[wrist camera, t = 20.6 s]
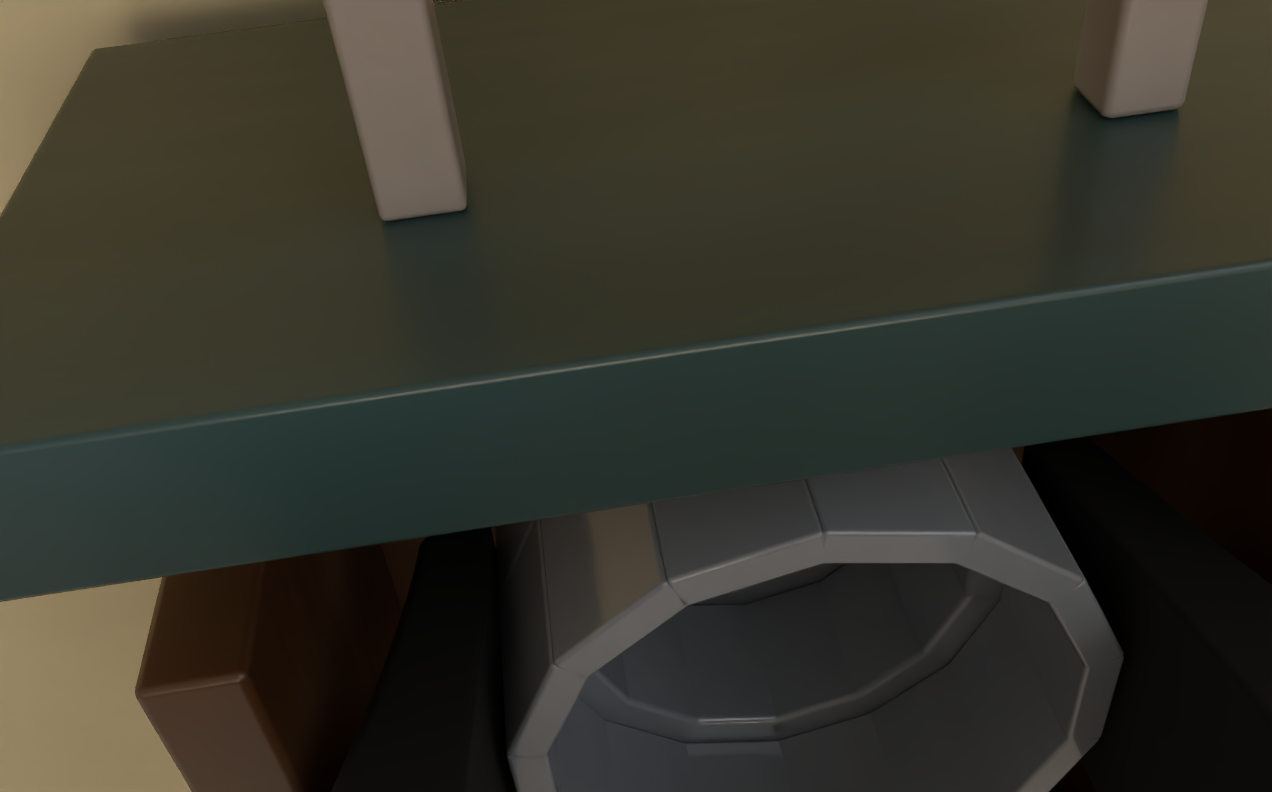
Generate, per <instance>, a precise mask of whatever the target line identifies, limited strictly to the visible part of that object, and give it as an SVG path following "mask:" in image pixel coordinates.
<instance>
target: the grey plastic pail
mask: <svg viewBox="0 0 1272 792" xmlns="http://www.w3.org/2000/svg"><path fill="white" fill-rule="evenodd" d="M495 538H496V551H497V565H498V584H499V611H500V631H501V632H500V645H501V664H502V684H503V703H504V723H505V742H506V757H507V761H508V765H509V768H510V772H511V776H512V779H513V783H514V787H515V790H516V792H1050V791H1051V790H1052V789H1053V788H1054V786H1055V785H1056V784H1057V783H1058V782H1059V781H1060V780H1061V779H1062V778H1063V777H1064V776H1065V775H1066V774H1067V773H1068V772H1069V771H1070V770H1071V769H1072V768H1073V767H1074V766H1075V765H1076V764H1077V763H1078V762H1079V761H1080V760H1081V759H1082V758H1083V757H1084V756H1085V754H1086V753H1087V752H1088V751H1089V750H1090V749H1091V748H1092V747H1093V746H1094V745H1095V744H1096V743H1097V742H1098V741H1099V738H1100V737H1101V736H1102V733H1103V730H1104V727H1105V723H1106V720H1107V716H1108V713H1109V709H1110V706H1111V702H1112V699H1113V695H1114V692H1115V689H1116V685H1117V682H1118V678H1119V675H1120V671H1121V668H1122V664H1123V661H1124V656H1123V654H1124V653H1123V649H1122V647H1121V645H1120V643H1119V641H1118V639H1117V637H1116V635H1115V633H1114V632H1113V630H1112V628H1111V626H1110V624H1109V622H1108V620H1107V618H1106V616H1105V614H1104V612H1103V611H1102V609H1101V607H1100V605H1099V603H1098V601H1097V599H1096V597H1095V595H1094V593H1093V591H1092V590H1091V588H1090V586H1089V584H1088V582H1087V580H1086V578H1085V576H1084V575H1083V573H1082V571H1081V569H1080V568H1079V566H1078V564H1077V562H1076V560H1075V559H1074V557H1073V555H1072V553H1071V552H1070V550H1069V548H1068V546H1067V544H1066V543H1065V541H1064V539H1063V537H1062V536H1061V534H1060V532H1059V530H1058V528H1057V527H1056V525H1055V523H1054V521H1053V520H1052V518H1051V516H1050V514H1049V512H1048V511H1047V509H1046V507H1045V505H1044V503H1043V502H1042V500H1041V498H1040V496H1039V495H1038V493H1037V491H1036V489H1035V487H1034V486H1033V484H1032V482H1031V480H1030V479H1029V477H1028V475H1027V473H1026V471H1025V470H1024V468H1023V466H1022V464H1021V463H1020V461H1019V459H1018V457H1017V455H1016V454H1015V452H1014V450H1013V448H1008V449H1001V450H995V451H988V452H982V453H975V454H968V455H962V456H955V457H949V458H942V459H935V460H929V461H922V462H916V463H909V464H903V465H896V466H889V467H883V468H876V469H870V470H863V471H857V472H850V473H843V474H837V475H830V476H824V477H817V478H811V479H804V480H797V481H791V482H784V483H778V484H771V485H764V486H758V487H751V488H745V489H738V490H732V491H725V492H718V493H712V494H705V495H699V496H692V497H686V498H679V499H672V500H666V501H659V502H653V503H646V504H639V505H633V506H626V507H620V508H613V509H607V510H600V511H593V512H587V513H580V514H574V515H567V516H561V517H554V518H547V519H541V520H534V521H528V522H521V523H515V524H508V525H501V526H495Z"/></svg>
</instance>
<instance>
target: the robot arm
mask: <svg viewBox="0 0 1272 792" xmlns="http://www.w3.org/2000/svg"><path fill="white" fill-rule="evenodd" d="M1022 466H1023V468H1024V470H1025V471H1026V473H1027V475H1028V477H1029V479H1030V480H1031V482H1032V484H1033V486H1034V487H1035V489H1036V491H1037V493H1038V495H1039V496H1040V498H1041V500H1042V502H1043V503H1044V505H1045V507H1046V509H1047V511H1048V512H1049V514H1050V516H1051V518H1052V520H1053V521H1054V523H1055V525H1056V527H1057V528H1058V530H1059V532H1060V534H1061V536H1062V537H1063V539H1064V541H1065V543H1066V544H1067V546H1068V548H1069V550H1070V552H1071V553H1072V555H1073V557H1074V559H1075V560H1076V562H1077V564H1078V566H1079V568H1080V569H1081V571H1082V573H1083V575H1084V576H1085V578H1086V580H1087V582H1088V584H1089V586H1090V588H1091V590H1092V591H1093V593H1094V595H1095V597H1096V599H1097V601H1098V603H1099V605H1100V607H1101V609H1102V611H1103V612H1104V614H1105V616H1106V618H1107V620H1108V622H1109V624H1110V626H1111V628H1112V630H1113V632H1114V633H1115V635H1116V637H1117V639H1118V641H1119V643H1120V645H1121V647H1122V649H1123V653H1124V654H1123V656H1124V661H1123V664H1122V668H1121V671H1120V675H1119V678H1118V682H1117V685H1116V689H1115V692H1114V695H1113V699H1112V702H1111V706H1110V709H1109V713H1108V716H1107V720H1106V723H1105V727H1104V730H1103V733H1102V736H1101V737H1100V738H1099V741H1098V742H1097V743H1096V744H1095V745H1094V746H1093V747H1092V748H1091V749H1090V750H1089V751H1088V752H1087V753H1086V754H1085V756H1084V757H1083V758H1082V759H1081V762H1082V764H1083V765H1084V767H1085V769H1086V771H1087V773H1088V775H1089V777H1090V779H1091V781H1092V783H1093V785H1094V787H1095V789H1096V791H1097V792H1272V585H1270V584H1269V583H1268V582H1267V581H1265V580H1264V579H1263V578H1261V577H1260V576H1259V575H1258V574H1256V573H1255V572H1254V571H1252V570H1251V569H1250V568H1248V567H1247V566H1246V565H1245V564H1243V563H1242V562H1241V561H1239V560H1238V559H1237V558H1235V557H1234V556H1233V555H1232V554H1230V553H1229V552H1228V551H1226V550H1225V549H1224V548H1222V547H1221V546H1220V545H1219V544H1217V543H1216V542H1215V541H1214V540H1212V539H1211V538H1210V537H1209V536H1207V535H1206V534H1205V533H1204V532H1202V531H1201V530H1200V529H1199V528H1197V527H1196V526H1195V525H1194V524H1193V523H1191V522H1190V521H1189V520H1188V519H1186V518H1185V517H1184V516H1183V515H1182V514H1180V513H1179V512H1178V511H1177V510H1175V509H1174V508H1173V507H1172V506H1170V505H1169V504H1168V503H1167V502H1166V501H1164V500H1163V499H1162V498H1161V497H1160V496H1158V495H1157V494H1156V493H1155V492H1153V491H1152V490H1151V489H1150V488H1149V487H1147V486H1146V485H1145V484H1144V483H1143V482H1141V481H1140V480H1139V479H1138V478H1137V477H1135V476H1134V475H1133V474H1132V473H1130V472H1129V471H1128V470H1127V469H1126V468H1124V467H1123V466H1122V465H1121V464H1120V463H1118V462H1117V461H1116V460H1115V459H1114V458H1112V457H1111V456H1110V455H1109V454H1107V453H1106V452H1105V451H1104V450H1103V449H1101V448H1100V447H1099V446H1098V445H1096V444H1095V443H1094V442H1093V441H1092V440H1090V439H1089V438H1088V437H1080V438H1074V439H1067V440H1060V441H1054V442H1047V443H1041V444H1034V445H1028V446H1024V452H1023V458H1022ZM500 632H501V631H500V611H499V584H498V565H497V551H496V547H495V543H494V539H493V534H492V530H491V527H488V528H482V529H475V530H468V531H462V532H455V533H449V534H442V535H436V536H429V537H426V538H425V539H424V541H423V542H422V543H421V544H420V547H419V551H418V556H417V561H416V565H415V569H414V573H413V576H412V580H411V584H410V587H409V591H408V594H407V598H406V601H405V604H404V608H403V611H402V614H401V617H400V620H399V623H398V626H397V629H396V632H395V635H394V638H393V641H392V644H391V647H390V650H389V653H388V656H387V658H386V661H385V663H384V666H383V669H382V671H381V674H380V676H379V679H378V682H377V684H376V687H375V689H374V692H373V695H372V697H371V700H370V702H369V705H368V708H367V710H366V713H365V715H364V718H363V720H362V723H361V725H360V728H359V730H358V732H357V735H356V737H355V739H354V742H353V744H352V746H351V748H350V750H349V753H348V755H347V757H346V759H345V761H344V764H343V766H342V768H341V770H340V772H339V775H338V777H337V779H336V781H335V783H334V786H333V788H332V790H331V792H516V790H515V787H514V783H513V779H512V776H511V772H510V768H509V765H508V761H507V757H506V742H505V723H504V703H503V684H502V664H501V645H500Z"/></svg>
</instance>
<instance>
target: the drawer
mask: <svg viewBox="0 0 1272 792" xmlns="http://www.w3.org/2000/svg"><path fill="white" fill-rule="evenodd" d="M323 3H324V7H325V11H326V15H327V19H319V20H312V21H304V22H296V23H289V24H281V25H274V26H266V27H259V28H251V29H244V30H236V31H228V32H221V33H213V34H206V35H198V36H191V37H183V38H176V39H168V40H161V41H153V42H145V43H138V44H130V45H123V46H115V47H108V48H100V49H95V50H93V51H92V53H91V54H90V56H89V58H88V60H87V62H86V63H85V65H84V67H83V69H82V71H81V72H80V74H79V76H78V78H77V80H76V81H75V83H74V85H73V87H72V88H71V90H70V92H69V94H68V96H67V97H66V99H65V101H64V103H63V105H62V106H61V108H60V110H59V112H58V114H57V115H56V117H55V119H54V121H53V123H52V124H51V126H50V128H49V130H48V132H47V133H46V135H45V137H44V139H43V141H42V142H41V144H40V146H39V148H38V149H37V151H36V153H35V155H34V157H33V158H32V160H31V162H30V164H29V166H28V167H27V169H26V171H25V173H24V175H23V176H22V178H21V180H20V182H19V184H18V185H17V187H16V189H15V191H14V193H13V194H12V196H11V198H10V200H9V202H8V203H7V205H6V207H5V209H4V210H3V212H2V214H1V216H0V602H1V601H8V600H15V599H21V598H28V597H34V596H41V595H47V594H54V593H61V592H67V591H74V590H80V589H87V588H94V587H100V586H107V585H113V584H120V583H126V582H133V581H140V580H146V579H153V578H159V577H162V580H161V584H160V589H159V593H158V597H157V601H156V605H155V609H154V613H153V618H152V622H151V626H150V630H149V634H148V638H147V642H146V646H145V651H144V655H143V659H142V663H141V667H140V671H139V675H138V680H137V684H136V689H135V694H136V697H137V700H138V701H139V703H140V705H141V706H142V708H143V710H144V711H145V713H146V715H147V716H148V718H149V720H150V722H151V723H152V725H153V727H154V728H155V730H156V732H157V733H158V735H159V737H160V738H161V740H162V742H163V743H164V745H165V747H166V749H167V750H168V752H169V754H170V755H171V757H172V759H173V760H174V762H175V764H176V765H177V767H178V769H179V770H180V772H181V774H182V775H183V777H184V779H185V781H186V782H187V784H188V786H189V787H190V789H191V791H192V792H331V790H332V788H333V786H334V783H335V781H336V779H337V777H338V775H339V772H340V770H341V768H342V766H343V764H344V761H345V759H346V757H347V755H348V753H349V750H350V748H351V746H352V744H353V742H354V739H355V737H356V735H357V732H358V730H359V728H360V725H361V723H362V720H363V718H364V715H365V713H366V710H367V708H368V705H369V702H370V700H371V697H372V695H373V692H374V689H375V687H376V684H377V682H378V679H379V676H380V674H381V671H382V669H383V666H384V663H385V661H386V658H387V656H388V653H389V650H390V647H391V644H392V641H393V638H394V635H395V632H396V629H397V626H398V623H399V620H400V617H401V614H402V611H403V608H404V604H405V601H406V598H407V594H408V591H409V587H410V584H411V580H412V576H413V573H414V569H415V565H416V561H417V556H418V551H419V547H420V544H421V543H422V542H423V541H424V539H425V538H426V537H429V536H436V535H442V534H449V533H455V532H462V531H468V530H475V529H482V528H488V527H491V530H492V534H493V539H494V543H495V547H496V538H495V526H501V525H508V524H515V523H521V522H528V521H534V520H541V519H547V518H554V517H561V516H567V515H574V514H580V513H587V512H593V511H600V510H607V509H613V508H620V507H626V506H633V505H639V504H646V503H653V502H659V501H666V500H672V499H679V498H686V497H692V496H699V495H705V494H712V493H718V492H725V491H732V490H738V489H745V488H751V487H758V486H764V485H771V484H778V483H784V482H791V481H797V480H804V479H811V478H817V477H824V476H830V475H837V474H843V473H850V472H857V471H863V470H870V469H876V468H883V467H889V466H896V465H903V464H909V463H916V462H922V461H929V460H935V459H942V458H949V457H955V456H962V455H968V454H975V453H982V452H988V451H995V450H1001V449H1008V448H1013V450H1014V452H1015V454H1016V455H1017V457H1018V459H1019V461H1020V463H1021V464H1022V458H1023V452H1024V446H1028V445H1034V444H1041V443H1047V442H1054V441H1060V440H1067V439H1074V438H1080V437H1088V438H1089V439H1090V440H1092V441H1093V442H1094V443H1095V444H1096V445H1098V446H1099V447H1100V448H1101V449H1103V450H1104V451H1105V452H1106V453H1107V454H1109V455H1110V456H1111V457H1112V458H1114V459H1115V460H1116V461H1117V462H1118V463H1120V464H1121V465H1122V466H1123V467H1124V468H1126V469H1127V470H1128V471H1129V472H1130V473H1132V474H1133V475H1134V476H1135V477H1137V478H1138V479H1139V480H1140V481H1141V482H1143V483H1144V484H1145V485H1146V486H1147V487H1149V488H1150V489H1151V490H1152V491H1153V492H1155V493H1156V494H1157V495H1158V496H1160V497H1161V498H1162V499H1163V500H1164V501H1166V502H1167V503H1168V504H1169V505H1170V506H1172V507H1173V508H1174V509H1175V510H1177V511H1178V512H1179V513H1180V514H1182V515H1183V516H1184V517H1185V518H1186V519H1188V520H1189V521H1190V522H1191V523H1193V524H1194V525H1195V526H1196V527H1197V528H1199V529H1200V530H1201V531H1202V532H1204V533H1205V534H1206V535H1207V536H1209V537H1210V538H1211V539H1212V540H1214V541H1215V542H1216V543H1217V544H1219V545H1220V546H1221V547H1222V548H1224V549H1225V550H1226V551H1228V552H1229V553H1230V554H1232V555H1233V556H1234V557H1235V558H1237V559H1238V560H1239V561H1241V562H1242V563H1243V564H1245V565H1246V566H1247V567H1248V568H1250V569H1251V570H1252V571H1254V572H1255V573H1256V574H1258V575H1259V576H1260V577H1261V578H1263V579H1264V580H1265V581H1267V582H1268V583H1269V584H1270V585H1272V0H462V1H455V2H447V3H440V4H434V3H433V0H323ZM1050 792H1097V791H1096V789H1095V787H1094V785H1093V783H1092V781H1091V779H1090V777H1089V775H1088V773H1087V771H1086V769H1085V767H1084V765H1083V764H1082V762H1081V760H1080V761H1079V762H1078V763H1077V764H1076V765H1075V766H1074V767H1073V768H1072V769H1071V770H1070V771H1069V772H1068V773H1067V774H1066V775H1065V776H1064V777H1063V778H1062V779H1061V780H1060V781H1059V782H1058V783H1057V784H1056V785H1055V786H1054V788H1053V789H1052V790H1051V791H1050Z"/></svg>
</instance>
